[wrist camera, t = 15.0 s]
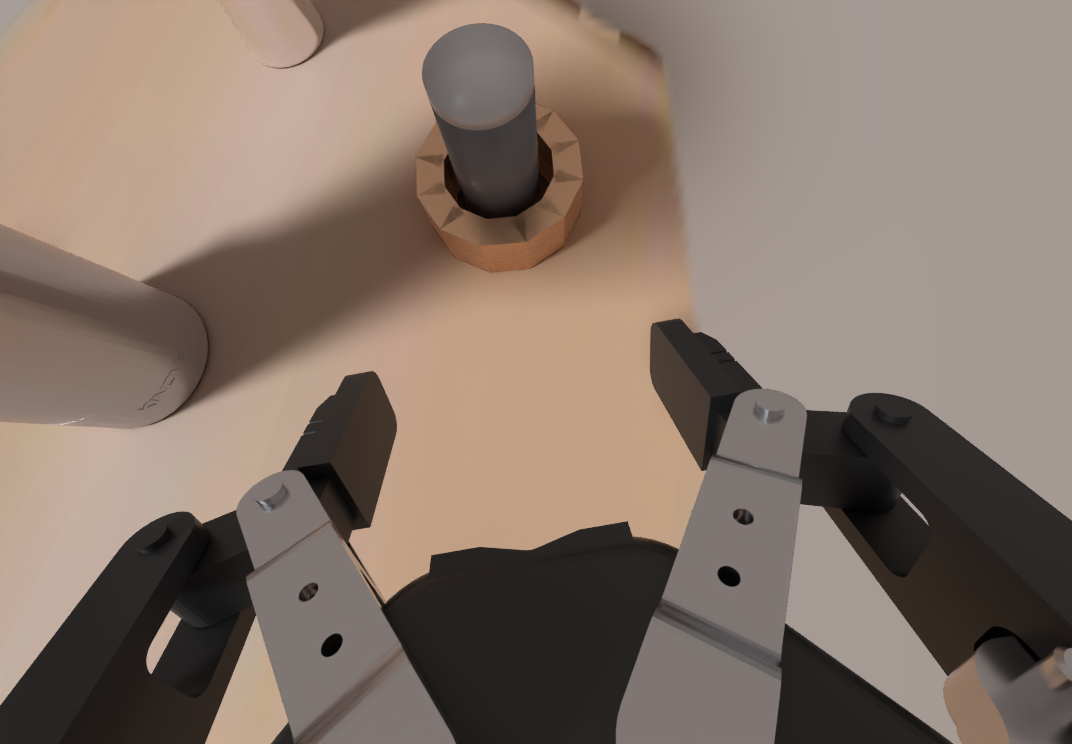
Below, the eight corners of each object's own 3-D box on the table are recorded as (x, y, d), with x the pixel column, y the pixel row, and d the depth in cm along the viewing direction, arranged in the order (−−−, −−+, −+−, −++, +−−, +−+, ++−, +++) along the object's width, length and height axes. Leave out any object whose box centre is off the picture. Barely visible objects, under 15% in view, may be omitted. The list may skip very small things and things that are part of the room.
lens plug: (455, 219, 28) (401, 91, 18) (489, 162, 29) (456, 9, 19) (520, 248, 27) (500, 132, 18) (553, 188, 28) (552, 44, 18)
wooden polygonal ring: (407, 236, 28) (386, 206, 24) (473, 120, 29) (463, 76, 26) (539, 294, 27) (537, 270, 23) (601, 169, 28) (608, 130, 25)
